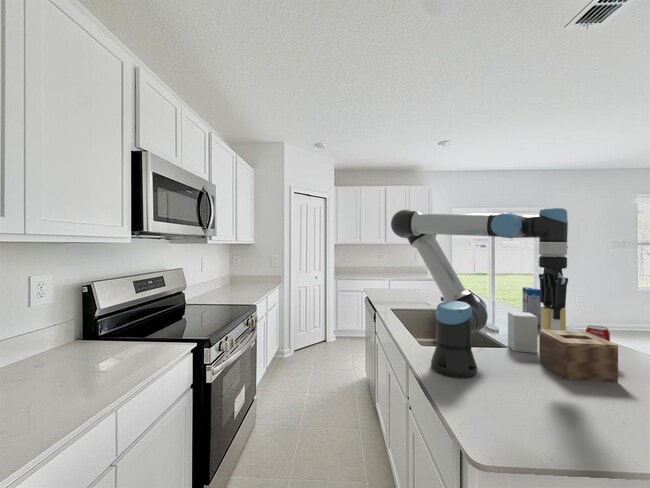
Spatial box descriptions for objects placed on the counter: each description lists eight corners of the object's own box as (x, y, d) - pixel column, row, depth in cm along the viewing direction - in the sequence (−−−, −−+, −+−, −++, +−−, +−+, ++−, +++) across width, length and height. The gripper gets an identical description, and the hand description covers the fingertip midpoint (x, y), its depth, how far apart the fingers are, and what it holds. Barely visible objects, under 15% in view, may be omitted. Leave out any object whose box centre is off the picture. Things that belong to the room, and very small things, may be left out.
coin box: (563, 378, 107) (563, 342, 107) (539, 361, 123) (539, 329, 123) (618, 382, 104) (618, 345, 104) (586, 364, 120) (586, 331, 120)
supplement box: (538, 353, 132) (538, 316, 132) (513, 351, 134) (513, 315, 134) (530, 346, 141) (530, 312, 141) (507, 345, 143) (507, 311, 143)
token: (545, 329, 105) (545, 308, 105) (540, 327, 108) (540, 306, 108) (565, 330, 104) (565, 308, 104) (560, 328, 107) (560, 306, 107)
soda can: (615, 365, 119) (615, 330, 119) (592, 364, 120) (592, 329, 120) (602, 358, 126) (602, 325, 126) (581, 357, 127) (581, 324, 127)
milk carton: (522, 322, 185) (522, 287, 185) (535, 323, 183) (535, 287, 183) (527, 326, 175) (527, 289, 175) (540, 327, 173) (540, 290, 173)
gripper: (580, 257, 97) (579, 335, 97) (552, 255, 113) (551, 322, 113) (553, 256, 98) (552, 333, 99) (529, 254, 114) (528, 321, 114)
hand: (552, 327), depth 106 cm, fingers closed on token, 3 cm apart
